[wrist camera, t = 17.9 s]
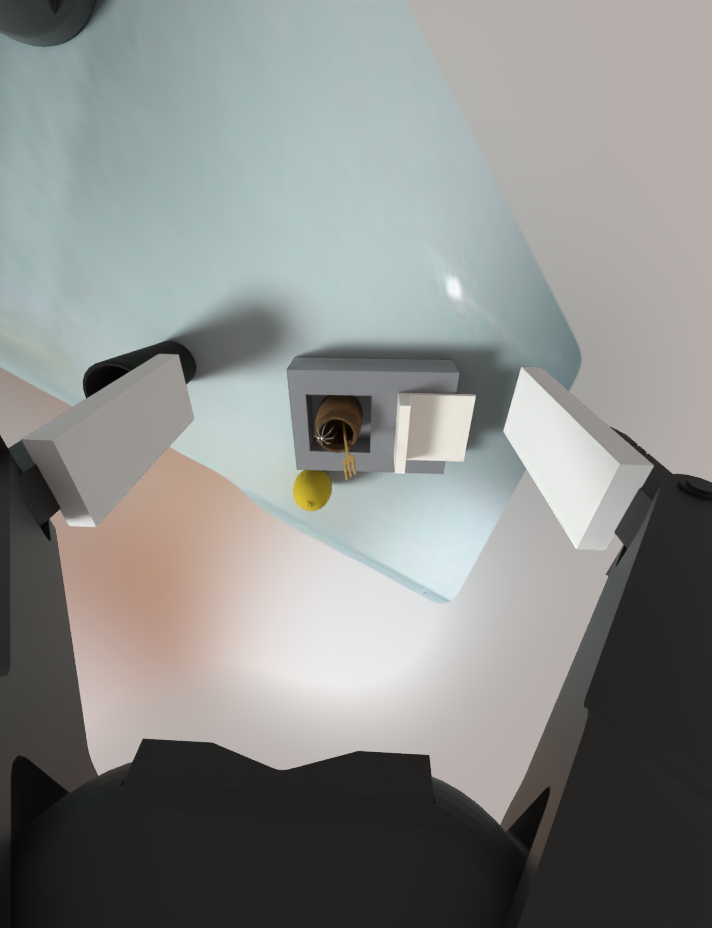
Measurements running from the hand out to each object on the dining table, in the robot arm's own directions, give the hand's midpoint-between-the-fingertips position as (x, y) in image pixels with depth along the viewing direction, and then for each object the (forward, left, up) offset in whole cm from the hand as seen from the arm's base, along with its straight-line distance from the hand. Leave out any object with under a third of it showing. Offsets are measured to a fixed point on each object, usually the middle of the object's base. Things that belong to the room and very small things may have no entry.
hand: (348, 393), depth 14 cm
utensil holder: (+15, -3, -32) cm, 36 cm away
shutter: (+15, +9, -28) cm, 33 cm away
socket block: (+15, +1, -33) cm, 36 cm away
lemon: (+26, -7, -33) cm, 43 cm away
